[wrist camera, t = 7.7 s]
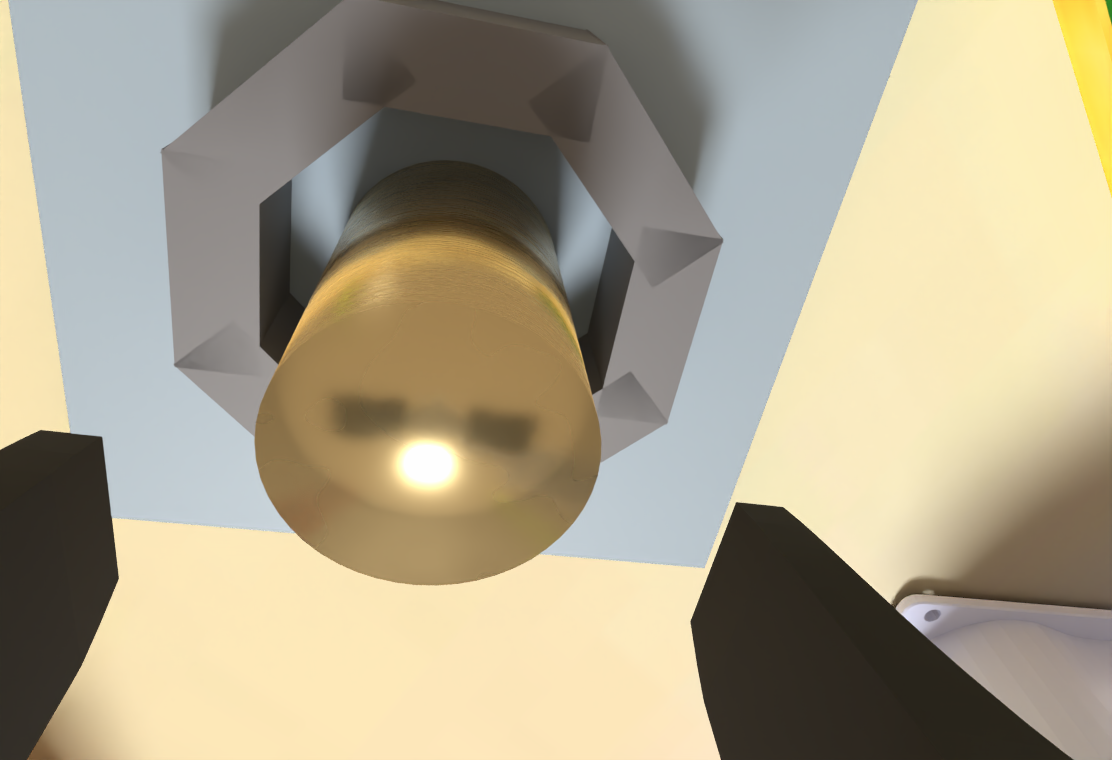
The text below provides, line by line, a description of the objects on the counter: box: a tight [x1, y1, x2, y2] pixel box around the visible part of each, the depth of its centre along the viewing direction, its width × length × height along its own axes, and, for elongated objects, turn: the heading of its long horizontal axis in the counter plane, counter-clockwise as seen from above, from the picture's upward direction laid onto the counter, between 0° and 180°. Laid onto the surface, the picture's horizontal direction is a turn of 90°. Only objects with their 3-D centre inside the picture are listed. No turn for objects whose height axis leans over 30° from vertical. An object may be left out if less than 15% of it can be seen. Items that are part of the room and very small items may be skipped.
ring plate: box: [8, 0, 918, 568], centre depth 15 cm, size 16×16×4 cm
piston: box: [254, 160, 601, 585], centre depth 13 cm, size 4×4×7 cm
